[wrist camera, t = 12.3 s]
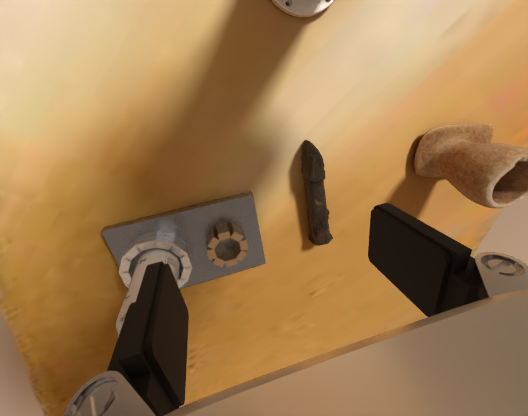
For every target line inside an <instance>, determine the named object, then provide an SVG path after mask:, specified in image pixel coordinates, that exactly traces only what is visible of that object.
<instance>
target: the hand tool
mask: <svg viewBox="0 0 528 416" xmlns="http://www.w3.org/2000/svg"><path fill="white" fill-rule="evenodd" d="M302 174H303V175H304V180H305V190H306V200H307V206H308V218H309V223H310V229H311V235H310V236H309V240H310V241H311V242H312V243H313V244H315V245H324V244H328V243H329V242H330V241H331V240H332V239H333V237H332V235H331V234H330V231H329V224H328V218H329V216H328V215H329V211H328V209H327V206H326V198H325V190H324V182H323V180H324V179H325V170H324V163H323V158H322V156H321V154H320V152H319V151H318V149H317V148H316V147H315V146H314V145H313V144H312V143H311V142H310V141H308V140H305V141H304V143H303V148H302Z"/></svg>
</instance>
